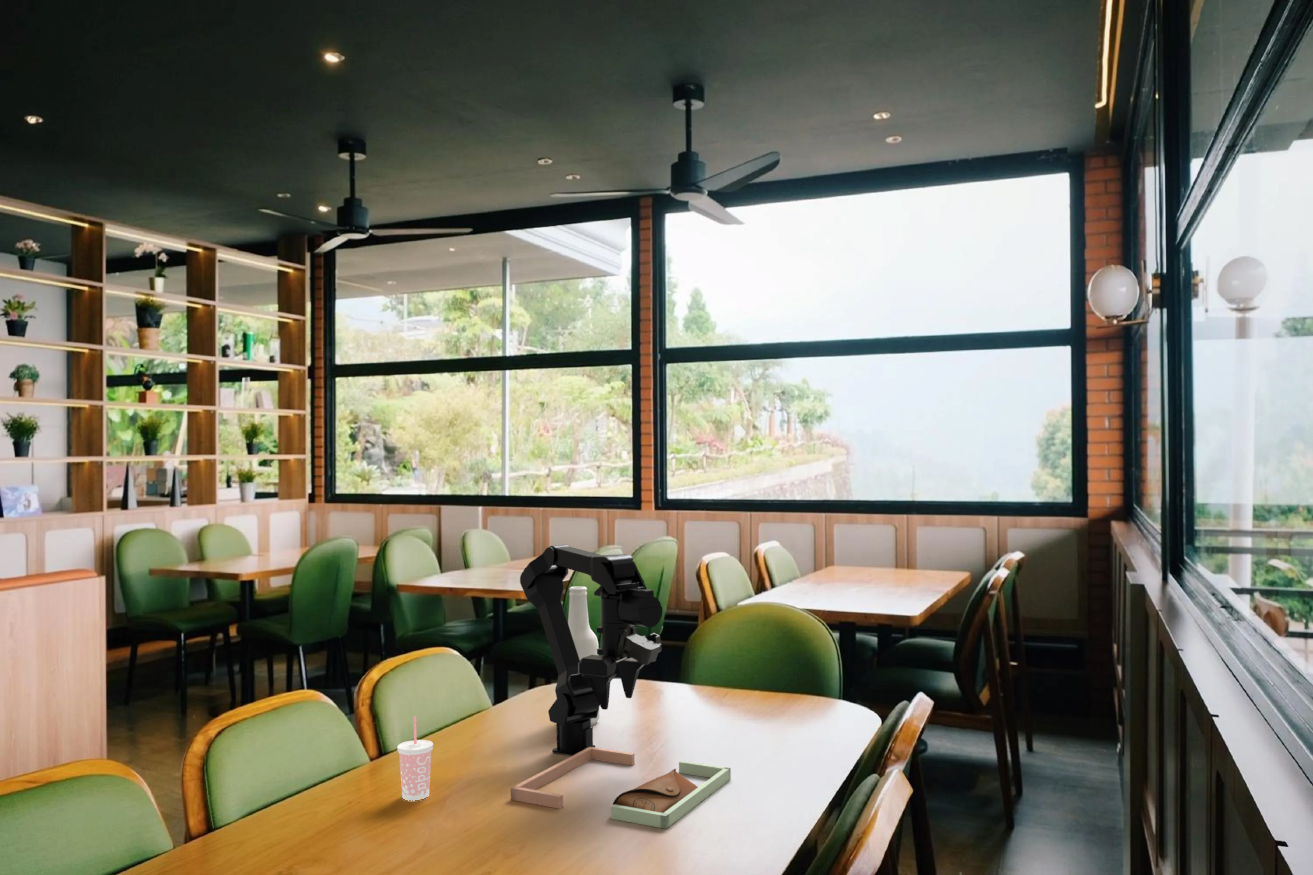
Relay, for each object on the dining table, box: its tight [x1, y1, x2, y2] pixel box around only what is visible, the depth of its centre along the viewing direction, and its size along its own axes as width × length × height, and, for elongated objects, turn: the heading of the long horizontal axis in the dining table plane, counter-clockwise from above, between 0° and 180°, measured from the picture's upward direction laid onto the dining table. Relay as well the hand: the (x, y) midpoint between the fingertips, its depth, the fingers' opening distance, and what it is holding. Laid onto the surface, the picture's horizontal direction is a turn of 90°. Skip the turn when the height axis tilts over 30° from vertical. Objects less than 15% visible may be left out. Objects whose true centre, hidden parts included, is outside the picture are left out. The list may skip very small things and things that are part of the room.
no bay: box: [510, 746, 636, 810], centre depth 174 cm, size 10×26×2 cm, turn 153°
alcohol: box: [567, 585, 600, 727], centre depth 212 cm, size 9×9×30 cm
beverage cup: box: [397, 715, 434, 802], centre depth 167 cm, size 6×6×14 cm
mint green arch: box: [610, 760, 732, 830], centre depth 164 cm, size 10×26×2 cm, turn 152°
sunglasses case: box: [612, 768, 699, 813], centre depth 162 cm, size 18×7×7 cm
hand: (617, 703), depth 181 cm, fingers open, 9 cm apart
